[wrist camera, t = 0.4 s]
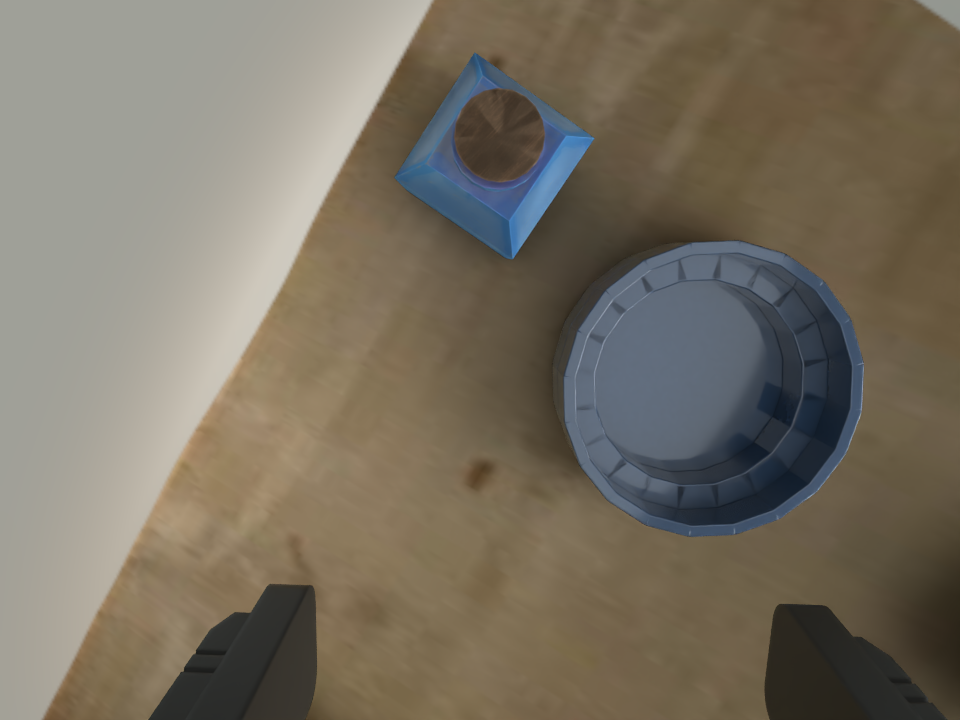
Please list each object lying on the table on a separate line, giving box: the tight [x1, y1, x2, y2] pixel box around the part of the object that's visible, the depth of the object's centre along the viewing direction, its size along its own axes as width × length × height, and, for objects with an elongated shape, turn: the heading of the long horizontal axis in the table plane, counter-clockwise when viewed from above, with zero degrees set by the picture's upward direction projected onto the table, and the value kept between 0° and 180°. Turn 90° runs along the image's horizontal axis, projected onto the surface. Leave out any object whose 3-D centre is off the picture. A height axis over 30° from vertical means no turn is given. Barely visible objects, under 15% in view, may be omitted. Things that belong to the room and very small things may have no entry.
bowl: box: [552, 240, 864, 537], centre depth 35 cm, size 14×14×5 cm
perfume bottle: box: [394, 53, 594, 259], centre depth 30 cm, size 6×6×12 cm
